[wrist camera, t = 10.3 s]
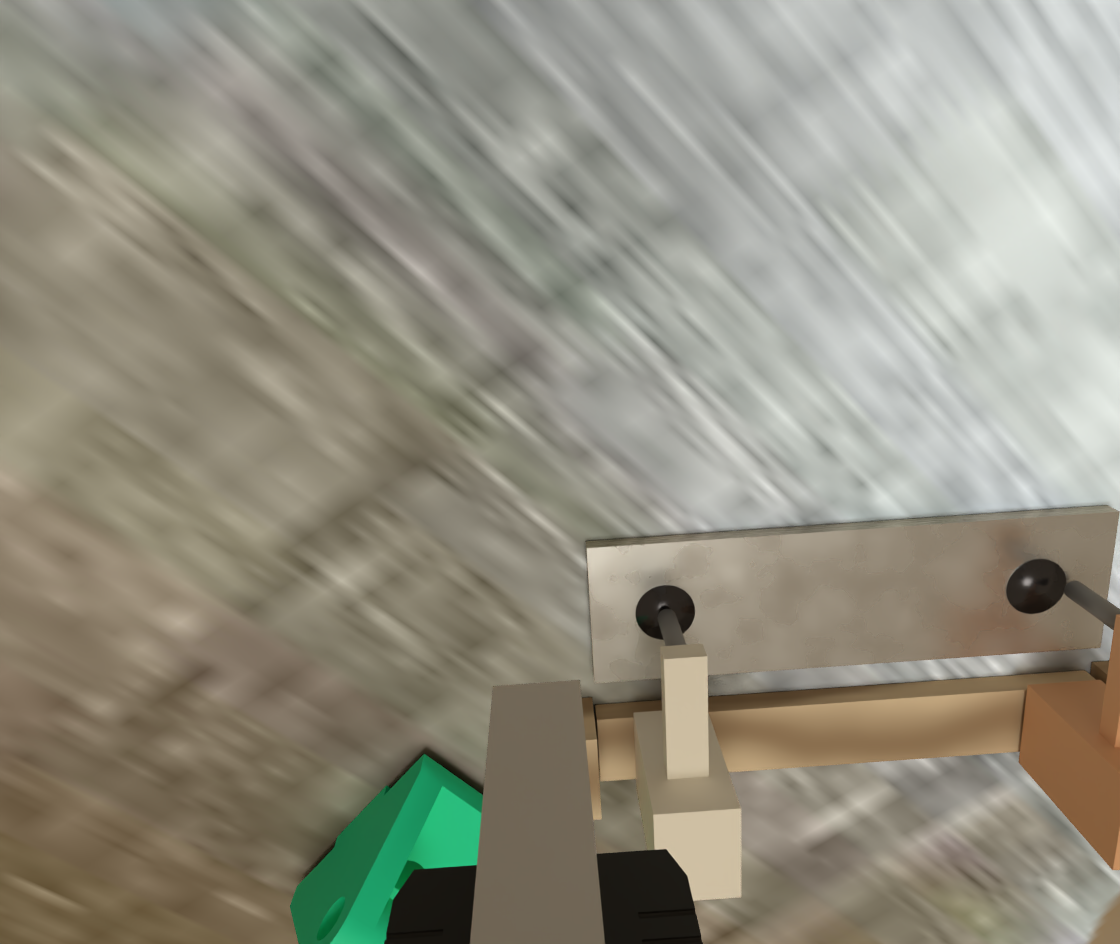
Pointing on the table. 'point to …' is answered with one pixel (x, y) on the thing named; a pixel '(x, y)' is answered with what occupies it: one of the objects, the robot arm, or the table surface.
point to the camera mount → (387, 855)
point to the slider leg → (1080, 740)
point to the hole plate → (851, 591)
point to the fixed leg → (687, 774)
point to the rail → (837, 724)
